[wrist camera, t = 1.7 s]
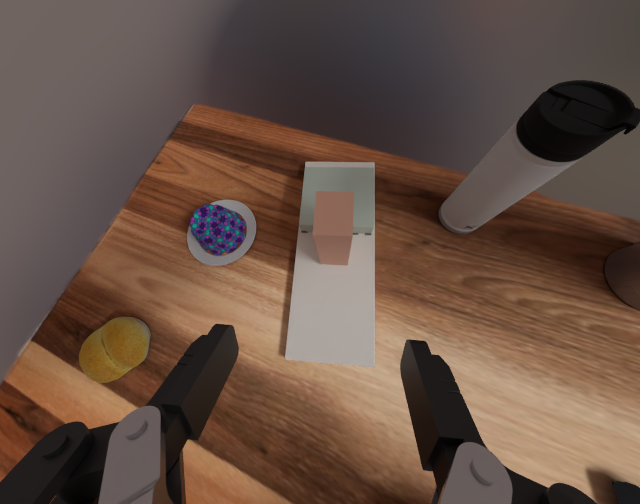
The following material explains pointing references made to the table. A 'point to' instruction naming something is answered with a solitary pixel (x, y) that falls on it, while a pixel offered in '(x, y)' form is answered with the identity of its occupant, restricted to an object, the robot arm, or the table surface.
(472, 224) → the travel mug
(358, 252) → the ticket board
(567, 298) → the table surface
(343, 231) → the stub
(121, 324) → the bread roll
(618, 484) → the plate of glazed chicken
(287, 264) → the table surface
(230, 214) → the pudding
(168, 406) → the robot arm
